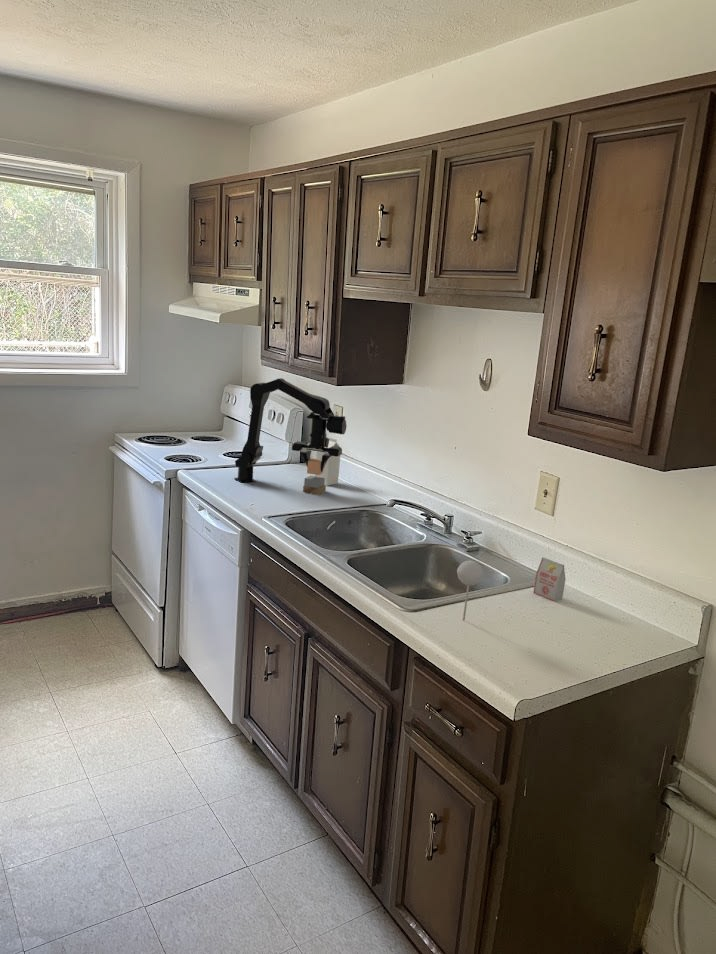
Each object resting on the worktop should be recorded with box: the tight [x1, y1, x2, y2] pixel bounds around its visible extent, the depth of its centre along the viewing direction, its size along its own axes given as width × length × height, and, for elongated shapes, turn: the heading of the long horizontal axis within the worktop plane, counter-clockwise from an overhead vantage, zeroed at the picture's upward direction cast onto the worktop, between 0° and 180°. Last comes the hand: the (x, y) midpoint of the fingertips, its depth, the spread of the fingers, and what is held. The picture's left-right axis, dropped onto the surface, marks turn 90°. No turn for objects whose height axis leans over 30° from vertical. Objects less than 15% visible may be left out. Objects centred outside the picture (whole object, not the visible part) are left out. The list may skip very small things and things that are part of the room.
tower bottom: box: [302, 485, 327, 496], centre depth 280 cm, size 7×7×3 cm
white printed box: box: [533, 556, 566, 603], centre depth 192 cm, size 4×7×10 cm, turn 40°
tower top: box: [303, 475, 325, 488], centre depth 279 cm, size 6×6×3 cm
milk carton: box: [314, 437, 341, 487], centre depth 294 cm, size 7×7×19 cm
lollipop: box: [456, 560, 484, 621], centre depth 171 cm, size 6×6×15 cm
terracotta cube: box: [306, 458, 323, 476], centre depth 278 cm, size 5×5×5 cm
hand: (315, 470), depth 278 cm, fingers closed on terracotta cube, 5 cm apart
